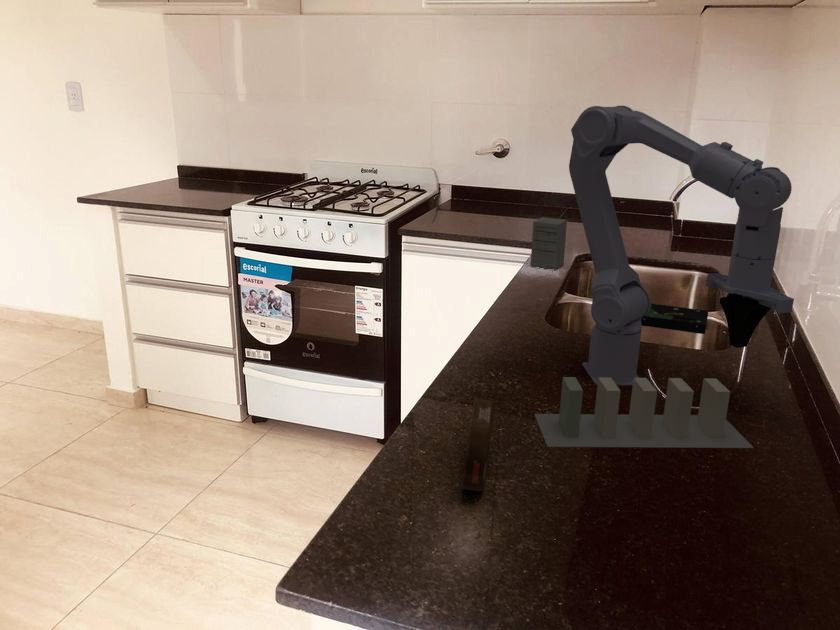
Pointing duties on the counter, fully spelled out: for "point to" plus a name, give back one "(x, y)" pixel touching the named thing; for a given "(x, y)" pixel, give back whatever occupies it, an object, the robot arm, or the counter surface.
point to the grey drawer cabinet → (548, 243)
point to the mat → (628, 438)
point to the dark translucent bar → (478, 445)
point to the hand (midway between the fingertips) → (738, 345)
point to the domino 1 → (570, 406)
